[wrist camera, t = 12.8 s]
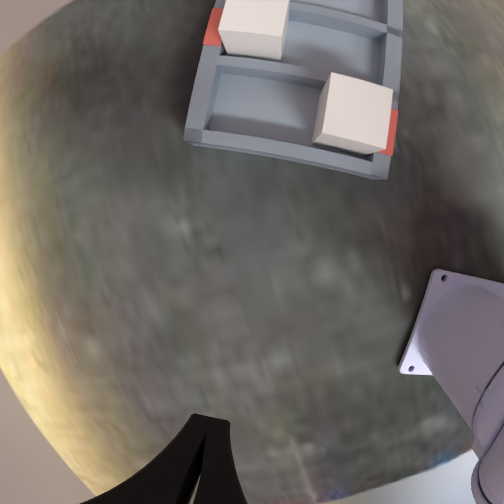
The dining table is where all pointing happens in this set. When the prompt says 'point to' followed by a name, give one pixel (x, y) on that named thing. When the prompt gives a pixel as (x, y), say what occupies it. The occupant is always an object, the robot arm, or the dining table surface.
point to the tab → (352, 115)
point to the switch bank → (297, 83)
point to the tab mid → (255, 28)
